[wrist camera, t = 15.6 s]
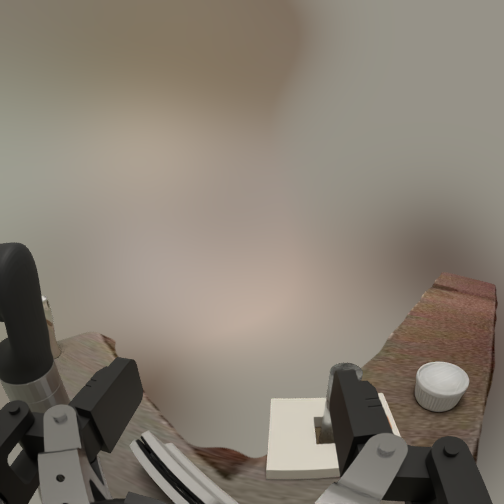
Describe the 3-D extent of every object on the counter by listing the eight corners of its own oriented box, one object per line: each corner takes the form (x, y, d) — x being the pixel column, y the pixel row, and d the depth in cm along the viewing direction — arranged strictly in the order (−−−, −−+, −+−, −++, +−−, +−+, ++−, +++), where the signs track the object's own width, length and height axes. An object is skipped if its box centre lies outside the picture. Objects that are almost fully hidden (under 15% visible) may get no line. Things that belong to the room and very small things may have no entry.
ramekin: (424, 375, 51) (430, 355, 50) (467, 392, 42) (475, 371, 41) (400, 402, 45) (406, 380, 44) (448, 424, 36) (458, 402, 35)
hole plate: (266, 479, 32) (266, 469, 31) (271, 408, 47) (271, 397, 47) (403, 466, 30) (408, 456, 29) (379, 403, 45) (382, 392, 45)
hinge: (251, 512, 26) (224, 495, 22) (225, 534, 23) (191, 522, 19) (175, 446, 38) (143, 413, 33) (154, 463, 35) (118, 433, 31)
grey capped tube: (319, 450, 37) (332, 382, 33) (318, 430, 41) (328, 363, 38) (348, 448, 36) (365, 380, 33) (344, 429, 40) (359, 362, 37)
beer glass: (41, 349, 60) (26, 296, 57) (63, 346, 64) (50, 293, 60) (37, 362, 54) (20, 306, 51) (61, 359, 58) (45, 303, 54)
